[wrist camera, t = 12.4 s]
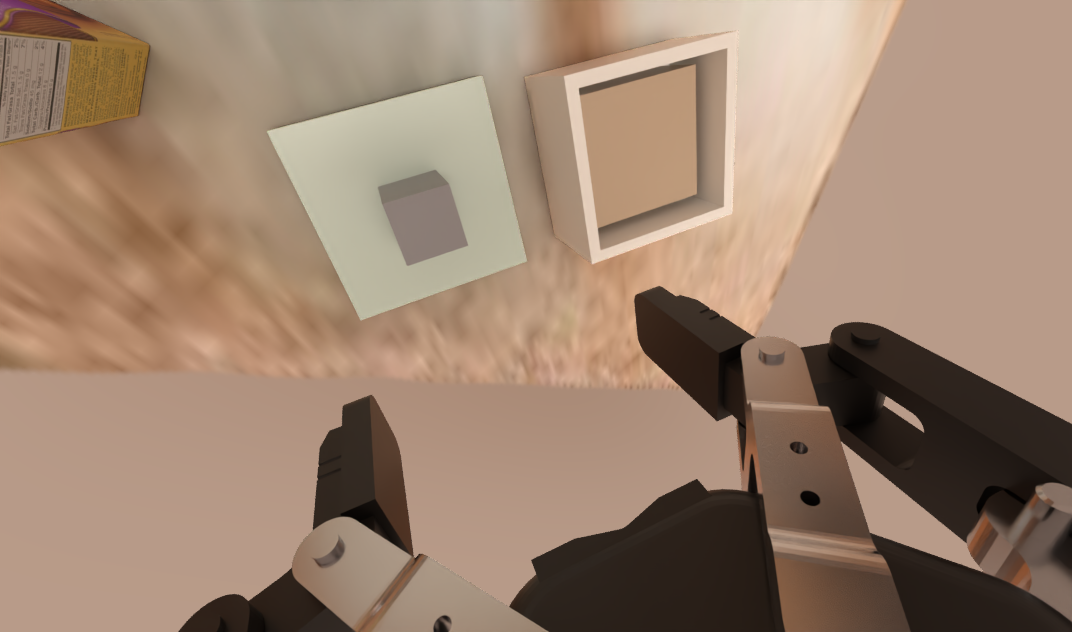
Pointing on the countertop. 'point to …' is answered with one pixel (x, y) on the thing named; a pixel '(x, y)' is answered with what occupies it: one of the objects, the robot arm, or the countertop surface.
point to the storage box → (637, 142)
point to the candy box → (63, 71)
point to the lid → (406, 193)
